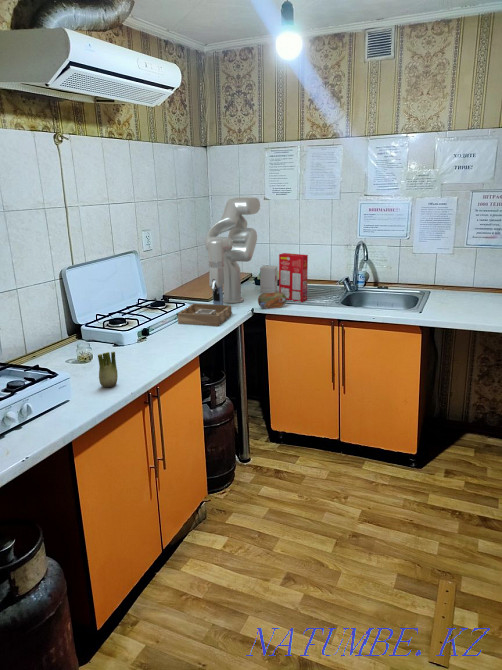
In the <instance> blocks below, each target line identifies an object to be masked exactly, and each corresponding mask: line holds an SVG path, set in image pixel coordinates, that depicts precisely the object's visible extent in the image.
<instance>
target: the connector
mask: <svg viewBox="0 0 502 670" xmlns="http://www.w3.org/2000/svg"><path fill="white" fill-rule="evenodd" d="M215 287H217V286H215ZM215 289H217V288H215ZM219 295H220V301H214V300H213V299H212V302H213V304H212V305H224V302H223V297H224V287H223V285H221V286H220V287H219Z"/></svg>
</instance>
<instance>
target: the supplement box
mask: <svg viewBox="0 0 502 670" xmlns="http://www.w3.org/2000/svg"><path fill="white" fill-rule="evenodd" d="M259 273H260V274H259V275H260V277H259V280H260V281H259V282H260V286H259V287H260V290H259V291H260V294H263V293H270V292H278V265H268V264H267V265H262V266H261V267H260V269H259Z"/></svg>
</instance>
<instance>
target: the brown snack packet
mask: <svg viewBox="0 0 502 670" xmlns="http://www.w3.org/2000/svg"><path fill="white" fill-rule="evenodd" d="M257 303H258V305H259V307H260V308H261V309H263V310H270V309H271V310H272V309H280V308H283V307H284V306H285V305H286V303H287V300H286V296H285V294H283V293H282V292H279V291H276V292H270V293H260V295H259V296H258V299H257Z"/></svg>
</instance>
